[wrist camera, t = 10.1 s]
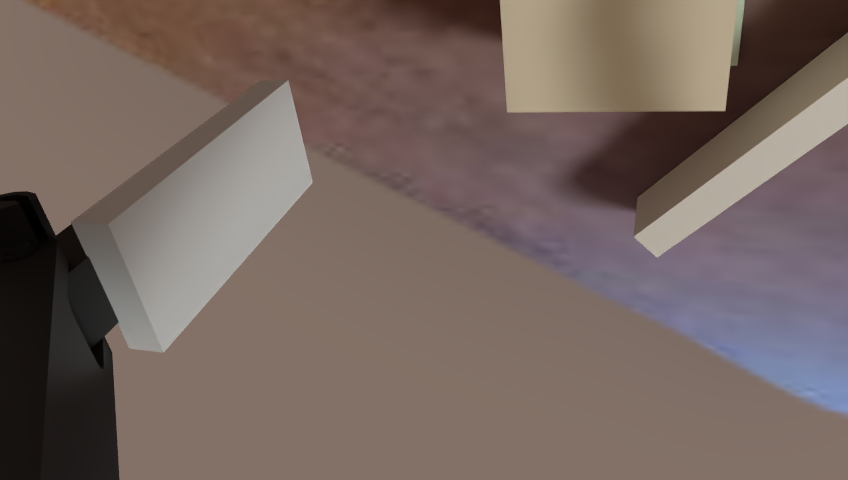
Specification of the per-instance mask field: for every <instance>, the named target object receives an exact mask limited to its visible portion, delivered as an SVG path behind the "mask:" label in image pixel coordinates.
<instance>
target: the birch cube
mask: <svg viewBox="0 0 848 480" xmlns="http://www.w3.org/2000/svg"><path fill="white" fill-rule="evenodd" d="M736 9H737V0H500V10H501V25H502V41H503V56H504V71H505V87H506V102H507V112H642V111H725V110H726V100H727V91H728V82H729V73H730V64H731V54H732V45H733V36H734V27H735V18H736Z"/></svg>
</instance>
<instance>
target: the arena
mask: <svg viewBox="0 0 848 480" xmlns="http://www.w3.org/2000/svg"><path fill="white" fill-rule="evenodd" d="M744 3H745V0H737V9H736V18H735V27H734V36H733V45H732V54H731V64H730V66H737V65H738V56H739V48H740V39H741V30H742V21H743V12H744ZM847 124H848V33H846V34H845V35H844V36H842V37H841V38H840V39H839V40H837V41H836V42H835V43H834V44H832V45H831V46H830V47H828V48H827V49H826V50H825V51H823V52H822V53H821V54H820V55H818V56H817V57H816V58H814V59H813V60H812V61H811V62H809V63H808V64H807V65H806V66H804V67H803V68H802V69H800V70H799V71H798V72H797V73H795V74H794V75H793V76H792V77H790V78H789V79H788V80H786V81H785V82H784V83H783V84H781V85H780V86H779V87H778V88H776V89H775V90H774V91H772V92H771V93H770V94H769V95H767V96H766V97H765V98H763V99H762V100H761V101H760V102H758V103H757V104H756V105H755V106H753V107H752V108H751V109H749V110H748V111H747V112H746V113H744V114H743V115H742V116H741V117H739V118H738V119H737V120H735V121H734V122H733V123H732V124H730V125H729V126H728V127H727V128H725V129H724V130H723V131H721V132H720V133H719V134H718V135H716V136H715V137H714V138H713V139H711V140H710V141H709V142H707V143H706V144H705V145H704V146H702V147H701V148H700V149H699V150H697V151H696V152H695V153H693V154H692V155H691V156H690V157H688V158H687V159H686V160H684V161H683V162H682V163H681V164H679V165H678V166H677V167H676V168H674V169H673V170H672V171H670V172H669V173H668V174H667V175H665V176H664V177H663V178H662V179H660V180H659V181H658V182H656V183H655V184H654V185H653V186H651V187H650V188H649V189H648V190H646V191H645V192H644V193H642V194H641V195H640V196H639V197H637V207H636V218H635V229H634V237H635V238H636V239H637V240H638V241H639V242H640V243H641V244H642V245H644V246H645V247H646V248H647V249H648V250H649V251H650V252H651V253H653V254H654V255H655V256H656V257H659V256H660V255H661V254H663V253H664V252H666V251H667V250H669V249H670V248H671V247H673V246H674V245H676V244H677V243H678V242H680V241H681V240H683V239H684V238H686V237H687V236H688V235H690V234H691V233H693V232H694V231H696V230H697V229H698V228H700V227H701V226H703V225H704V224H706V223H707V222H708V221H710V220H711V219H713V218H714V217H716V216H717V215H718V214H720V213H721V212H723V211H724V210H725V209H727V208H728V207H730V206H731V205H733V204H734V203H735V202H737V201H738V200H740V199H741V198H743V197H744V196H745V195H747V194H748V193H750V192H751V191H753V190H754V189H755V188H757V187H758V186H760V185H761V184H763V183H764V182H765V181H767V180H768V179H770V178H771V177H772V176H774V175H775V174H777V173H778V172H780V171H781V170H782V169H784V168H785V167H787V166H788V165H790V164H791V163H792V162H794V161H795V160H797V159H798V158H800V157H801V156H802V155H804V154H805V153H807V152H808V151H810V150H811V149H812V148H814V147H815V146H817V145H818V144H819V143H821V142H822V141H824V140H825V139H827V138H828V137H829V136H831V135H832V134H834V133H835V132H837V131H838V130H839V129H841V128H842V127H844V126H845V125H847Z"/></svg>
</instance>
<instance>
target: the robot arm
mask: <svg viewBox="0 0 848 480" xmlns="http://www.w3.org/2000/svg"><path fill="white" fill-rule="evenodd" d="M312 183H313V182H312V177H311V173H310V169H309V165H308V160H307V156H306V152H305V148H304V144H303V140H302V135H301V131H300V127H299V123H298V119H297V115H296V110H295V106H294V102H293V98H292V94H291V90H290V86H289V81H288V80H277V81H259V82H258V83H257V84H255V85H254V86H253V87H251V88H250V89H249V90H247V91H246V92H245V93H243V94H242V95H241V96H239V97H238V98H237V99H235V100H234V101H233V102H231V103H230V104H229V105H227V106H226V107H225V108H223V109H222V110H221V111H219V112H218V113H217V114H215V115H214V116H213V117H211V118H210V119H209V120H207V121H206V122H204V124H202V125H200V126H199V127H198V128H197V129H195V130H194V131H192V132H191V133H190V134H188V135H187V136H186V137H184V138H183V139H182V140H180V141H179V142H178V143H176V144H175V145H174V146H172V147H171V148H170V149H168V150H167V151H166V152H164V153H163V154H162V155H160V156H159V157H158V158H156V159H155V160H154V161H152V162H151V163H150V164H148V165H147V166H146V167H144V168H143V169H142V170H140V171H139V172H137V173H136V174H135V175H133V176H132V177H131V178H129V179H128V180H127V181H125V182H124V183H123V184H121V185H120V186H119V187H117V188H116V189H115V190H113V191H112V192H111V193H109V194H108V195H107V196H105V197H104V198H103V199H101V200H100V201H99V202H97V203H96V204H95V205H93V206H92V207H91V208H89V209H88V210H87V211H85V212H84V213H83V214H81V215H80V216H79V217H77V218H76V219H74V220H73V221H72V222H71V225H70V226H68V227H67V228H66V229H65V230H63V231H62V232H60V233H59V234H58V235H55V233H54V231H53V229H52V227H51V225H50V223H49V221H48V219H47V217H46V214H45V213H44V210H43V208H42V206H41V204H40V202H39V200H38V198H37V196H36V194H35V193H31V192H12V193H7V194H2V195H0V480H119V465H118V450H117V431H116V413H115V395H114V377H113V361H112V351H111V349H110V347H109V345H108V343H107V341H106V339H105V337H104V336H105V335H106V334H107V333H108V332H109V331H110V330H111V329H112V328H113V327H114V326H115V325H116V324H117V323H118V325H119V327H120V329H121V331H122V333H123V335H124V338H125V340H126V342H127V344H128V346H129V348H130V349H138V350H147V351H156V352H164V351H165V350H166V349H167V348H168V347H169V346H170V345H171V343H172V342H173V341H174V340H175V339H176V338H177V337H178V335H179V334H180V333H181V332H182V331H183V329H185V327H186V326H187V325H188V324H189V323H190V322H191V321H192V320H193V318H194V317H195V316H196V315H197V314H198V313H199V311H200V310H201V309H202V308H203V307H204V306H205V305H206V304H207V302H208V301H209V300H210V299H211V298H212V297H213V296H214V294H215V293H216V292H217V291H218V290H219V289H220V288H221V286H222V285H223V284H224V283H225V282H226V281H227V280H228V278H229V277H230V276H231V275H232V274H233V273H234V272H235V270H236V269H237V268H238V267H239V266H240V265H241V264H242V262H243V261H244V260H245V259H246V258H247V257H248V256H249V254H250V253H251V252H252V251H253V250H254V249H255V248H256V246H257V245H258V244H259V243H260V242H261V241H262V240H263V239H264V237H265V236H266V235H267V234H268V233H269V231H271V229H272V228H273V227H274V226H275V225H276V224H277V222H278V221H279V220H280V219H281V218H282V217H283V216H284V214H285V213H286V212H287V211H288V210H289V209H290V208H291V206H292V205H293V204H294V203H295V202H296V201H297V200H298V198H299V197H300V196H301V195H302V194H303V193H304V192H305V191H306V189H307V188H308V187H309V186H310V185H311V184H312Z"/></svg>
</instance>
